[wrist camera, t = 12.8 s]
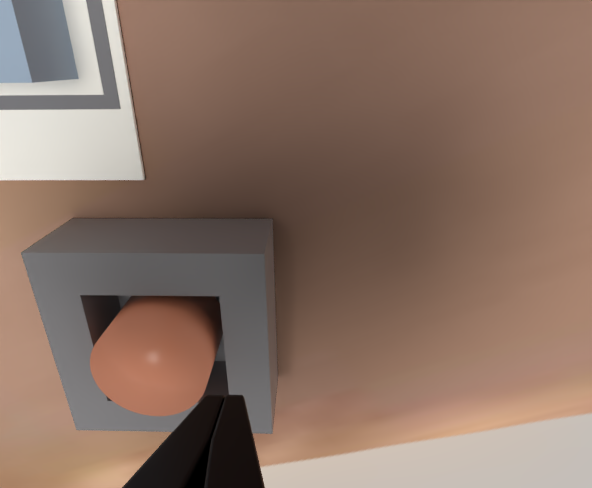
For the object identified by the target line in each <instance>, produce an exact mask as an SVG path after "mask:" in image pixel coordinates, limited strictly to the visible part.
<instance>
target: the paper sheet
mask: <svg viewBox="0 0 592 488" xmlns="http://www.w3.org/2000/svg"><path fill="white" fill-rule="evenodd" d="M62 2H63V7H64V12H65V16H66V21H67V26H68V31H69V35H70V40H71V45H72V50H73V54H74V59H75V64H76V68H77V73H78V78H79V79H71V80H59V81H46V82H34V83H0V180H145V174H144V168H143V162H142V156H141V149H140V143H139V137H138V131H137V125H136V119H135V113H134V107H133V100H132V94H131V88H130V82H129V76H128V70H127V64H126V58H125V51H124V45H123V39H122V33H121V27H120V21H119V15H118V9H117V2H116V0H62Z"/></svg>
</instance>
